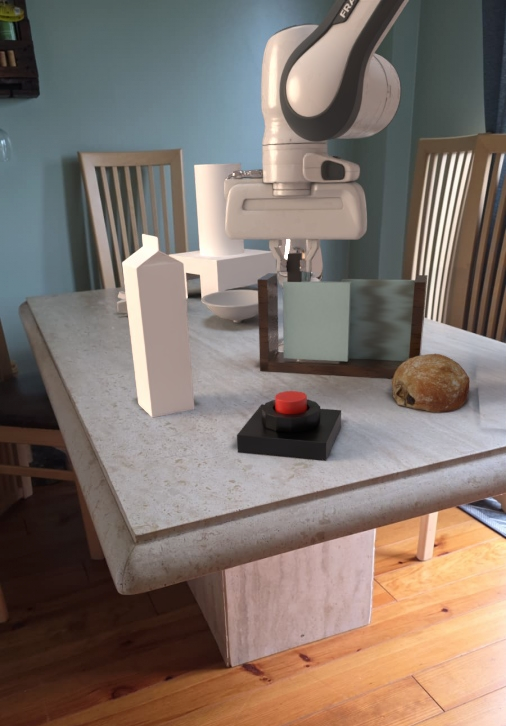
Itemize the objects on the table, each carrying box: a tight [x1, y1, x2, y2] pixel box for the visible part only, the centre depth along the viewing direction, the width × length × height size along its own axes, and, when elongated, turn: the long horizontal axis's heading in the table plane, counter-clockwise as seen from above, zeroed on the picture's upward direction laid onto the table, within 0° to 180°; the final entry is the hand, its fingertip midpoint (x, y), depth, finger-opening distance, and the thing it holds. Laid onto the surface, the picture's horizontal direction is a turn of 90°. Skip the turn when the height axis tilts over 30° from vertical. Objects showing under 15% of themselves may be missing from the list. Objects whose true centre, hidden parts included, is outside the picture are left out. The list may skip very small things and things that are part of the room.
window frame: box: [257, 273, 428, 380], centre depth 94 cm, size 24×6×14 cm, turn 73°
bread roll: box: [391, 353, 471, 413], centre depth 82 cm, size 10×10×8 cm
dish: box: [200, 289, 258, 323], centre depth 128 cm, size 18×14×5 cm
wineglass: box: [276, 240, 324, 351], centre depth 105 cm, size 8×8×20 cm
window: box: [282, 253, 351, 362], centre depth 92 cm, size 10×1×16 cm, turn 73°
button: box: [274, 390, 308, 414], centre depth 71 cm, size 4×4×2 cm
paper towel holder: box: [168, 162, 277, 300], centre depth 151 cm, size 19×19×30 cm
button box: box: [236, 398, 342, 462], centre depth 72 cm, size 10×10×4 cm
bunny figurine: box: [116, 290, 128, 314], centre depth 139 cm, size 10×5×15 cm
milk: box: [121, 233, 195, 419], centre depth 79 cm, size 6×6×22 cm
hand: (294, 271), depth 91 cm, fingers closed on window, 2 cm apart
